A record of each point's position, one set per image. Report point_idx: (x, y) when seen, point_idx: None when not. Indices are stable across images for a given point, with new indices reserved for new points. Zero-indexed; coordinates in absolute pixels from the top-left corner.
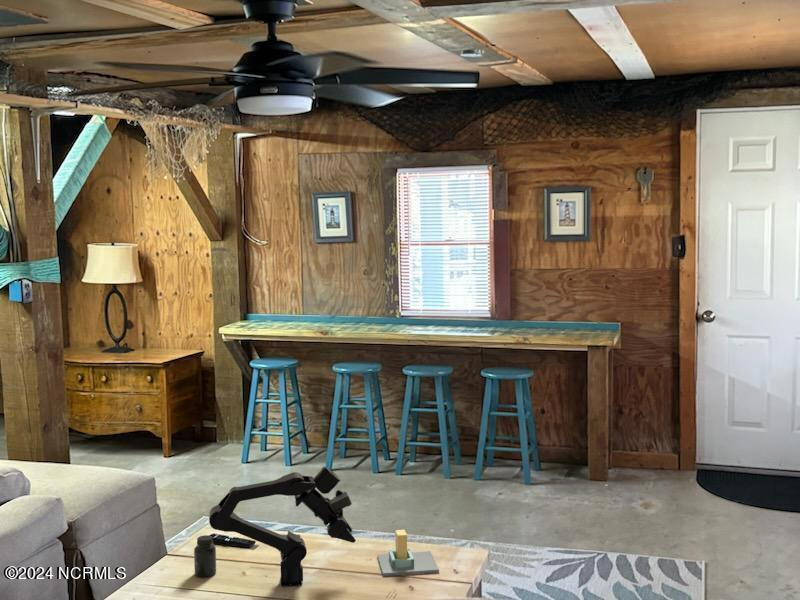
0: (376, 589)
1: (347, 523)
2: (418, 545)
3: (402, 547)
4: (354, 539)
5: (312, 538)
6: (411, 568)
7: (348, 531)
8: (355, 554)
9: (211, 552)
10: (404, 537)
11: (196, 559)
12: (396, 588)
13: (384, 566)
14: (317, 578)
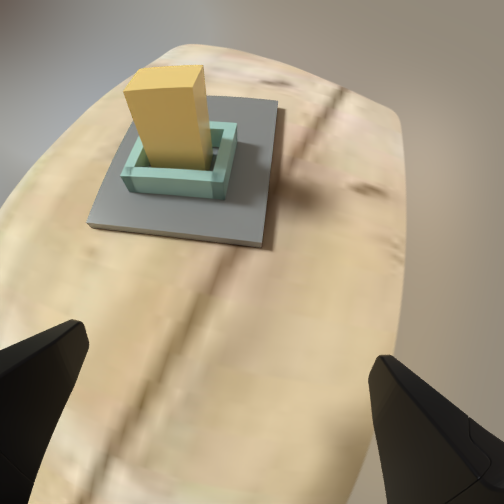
0: (371, 297)
1: (22, 362)
2: (86, 120)
3: (203, 118)
4: (402, 368)
5: None
6: (248, 150)
7: (498, 439)
8: (41, 291)
9: None
10: (201, 79)
11: None
12: (372, 231)
13: (198, 222)
14: (206, 493)
